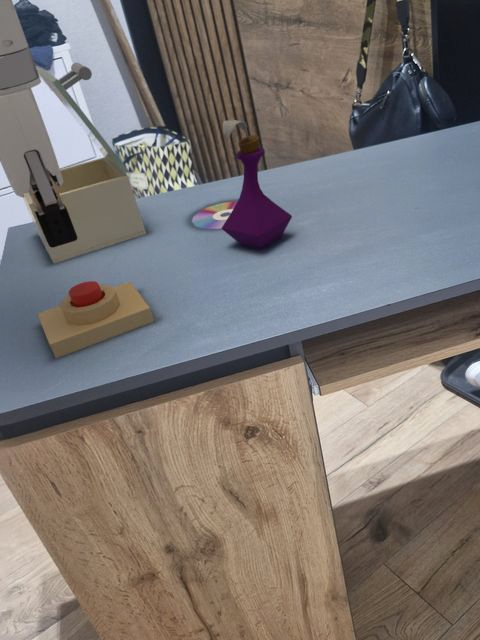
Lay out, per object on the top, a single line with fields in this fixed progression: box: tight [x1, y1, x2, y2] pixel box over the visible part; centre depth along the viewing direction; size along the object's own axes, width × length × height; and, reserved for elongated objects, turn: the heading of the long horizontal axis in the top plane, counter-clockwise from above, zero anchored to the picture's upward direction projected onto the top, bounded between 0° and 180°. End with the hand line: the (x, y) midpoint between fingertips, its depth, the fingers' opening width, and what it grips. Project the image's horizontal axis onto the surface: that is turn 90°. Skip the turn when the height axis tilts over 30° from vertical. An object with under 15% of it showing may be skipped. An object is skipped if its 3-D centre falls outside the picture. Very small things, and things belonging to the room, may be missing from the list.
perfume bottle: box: [221, 119, 293, 250], centre depth 90 cm, size 8×8×18 cm
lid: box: [37, 62, 129, 175], centre depth 97 cm, size 15×14×6 cm
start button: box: [68, 280, 104, 307], centre depth 78 cm, size 4×4×2 cm
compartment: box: [22, 156, 147, 264], centre depth 102 cm, size 15×14×10 cm
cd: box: [191, 200, 238, 230], centre depth 105 cm, size 11×11×1 cm
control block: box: [37, 281, 155, 359], centre depth 79 cm, size 12×9×4 cm
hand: (63, 241), depth 74 cm, fingers closed
